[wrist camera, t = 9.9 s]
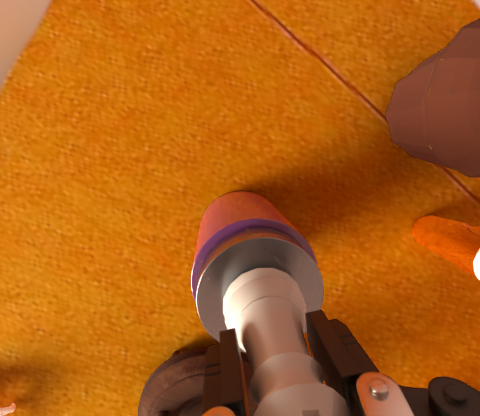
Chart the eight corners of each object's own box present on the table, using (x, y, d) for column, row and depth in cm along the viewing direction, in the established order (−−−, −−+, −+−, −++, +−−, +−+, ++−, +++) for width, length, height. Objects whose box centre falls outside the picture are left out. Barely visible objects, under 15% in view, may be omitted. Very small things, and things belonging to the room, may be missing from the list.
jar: (191, 199, 26) (173, 241, 15) (275, 183, 26) (320, 213, 15) (208, 277, 28) (204, 365, 17) (286, 261, 28) (333, 336, 17)
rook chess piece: (253, 248, 14) (299, 369, 7) (315, 288, 15) (417, 435, 8) (206, 310, 15) (199, 487, 7) (268, 345, 16) (320, 534, 8)
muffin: (501, 122, 27) (661, 110, 17) (411, 193, 28) (515, 219, 18) (448, 15, 24) (603, -70, 15) (349, 97, 25) (435, 68, 15)
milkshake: (459, 220, 29) (580, 258, 20) (423, 256, 30) (523, 311, 20) (433, 194, 28) (548, 221, 19) (397, 232, 29) (489, 277, 19)
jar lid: (185, 238, 16) (182, 250, 14) (305, 215, 17) (317, 224, 15) (210, 342, 18) (210, 365, 16) (318, 319, 18) (329, 339, 17)
